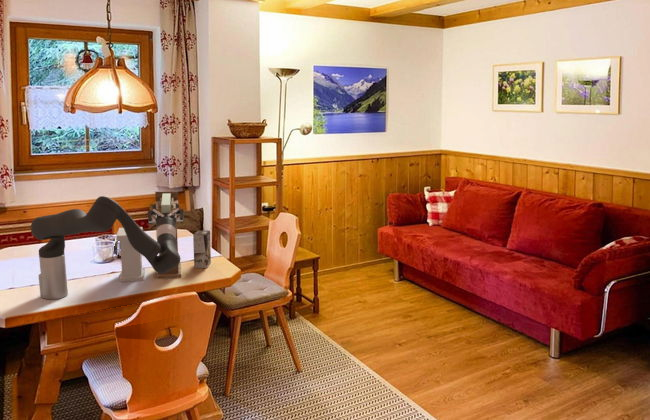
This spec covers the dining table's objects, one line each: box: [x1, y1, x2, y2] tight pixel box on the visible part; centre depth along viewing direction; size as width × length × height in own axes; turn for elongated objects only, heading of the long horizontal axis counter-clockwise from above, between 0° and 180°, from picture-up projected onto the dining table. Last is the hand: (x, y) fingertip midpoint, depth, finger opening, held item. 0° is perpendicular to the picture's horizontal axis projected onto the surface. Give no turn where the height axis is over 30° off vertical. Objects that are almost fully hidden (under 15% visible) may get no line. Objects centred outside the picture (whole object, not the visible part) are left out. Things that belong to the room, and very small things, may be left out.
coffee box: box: [192, 230, 212, 269], centre depth 274 cm, size 9×6×16 cm
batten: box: [161, 193, 171, 213], centre depth 252 cm, size 26×4×4 cm, turn 14°
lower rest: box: [115, 226, 146, 283], centre depth 256 cm, size 14×10×21 cm
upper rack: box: [154, 190, 182, 280], centre depth 261 cm, size 20×10×36 cm, turn 14°
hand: (165, 204), depth 244 cm, fingers open, 8 cm apart
